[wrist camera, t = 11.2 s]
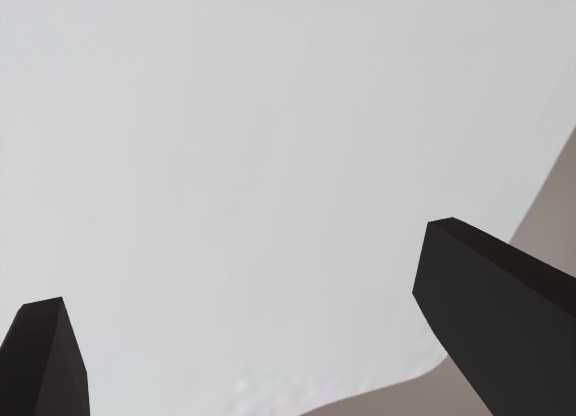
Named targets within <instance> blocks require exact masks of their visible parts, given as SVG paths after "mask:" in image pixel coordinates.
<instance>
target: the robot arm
mask: <svg viewBox="0 0 576 416" xmlns="http://www.w3.org/2000/svg"><path fill="white" fill-rule="evenodd" d="M412 294H413V295H414V297H415V299H416V301H417V303H418V305H419V307H420V309H421V311H422V313H423V315H424V317H425V318H426V320H427V322H428V324H429V326H430V327H431V329H432V331H433V333H434V334H435V336H436V337H437V339H438V340H439V341H440V343H441V344H442V346H443V347H444V348H445V350H446V351H447V353H448V354H449V355H450V357H451V358H452V359H453V361H454V362H455V364H456V365H457V367H458V368H459V369H460V370H461V372H462V373H463V375H464V376H465V377H466V379H467V380H468V382H469V383H470V384H471V386H472V387H473V388H474V390H475V391H476V392H477V394H478V395H479V397H480V398H481V399H482V401H483V402H484V403H485V405H486V406H487V408H488V409H489V410H490V412H491V413H492V414H493V416H576V278H575V277H573V276H570V275H568V274H566V273H564V272H562V271H560V270H558V269H556V268H554V267H552V266H550V265H548V264H546V263H544V262H542V261H540V260H538V259H536V258H534V257H532V256H530V255H528V254H526V253H525V252H523V251H521V250H519V249H517V248H515V247H513V246H511V245H509V244H507V243H505V242H503V241H501V240H499V239H497V238H495V237H493V236H492V235H490V234H488V233H486V232H484V231H482V230H480V229H478V228H476V227H473V226H471V225H469V224H467V223H465V222H463V221H461V220H458V219H456V218H454V217H451V218H446V219H441V220H436V221H431V222H428V224H427V228H426V233H425V237H424V242H423V246H422V251H421V255H420V260H419V264H418V269H417V274H416V278H415V283H414V287H413V292H412ZM0 416H90V406H89V392H88V380H87V371H86V368H85V365H84V362H83V359H82V356H81V353H80V350H79V347H78V344H77V341H76V338H75V335H74V332H73V329H72V326H71V323H70V320H69V317H68V313H67V310H66V307H65V304H64V301H63V298H62V297H57V298H52V299H48V300H43V301H38V302H33V303H28V304H23V305H22V307H21V308H20V309H19V310H18V312H17V314H16V316H15V318H14V320H13V322H12V325H11V327H10V329H9V331H8V333H7V335H6V337H5V339H4V341H3V343H2V345H1V347H0Z"/></svg>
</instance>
